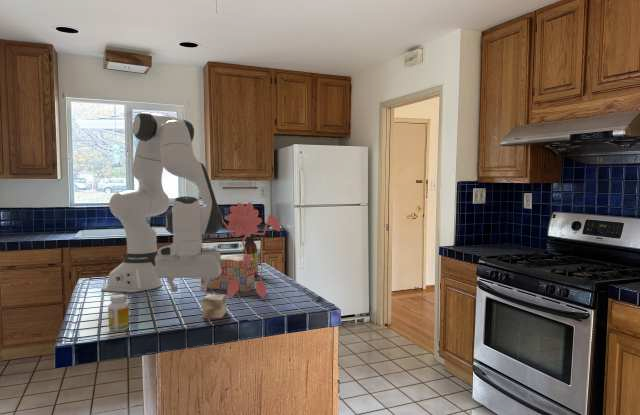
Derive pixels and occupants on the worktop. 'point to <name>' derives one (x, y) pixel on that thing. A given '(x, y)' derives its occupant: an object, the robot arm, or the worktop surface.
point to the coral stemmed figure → (247, 224)
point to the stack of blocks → (242, 275)
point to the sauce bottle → (251, 251)
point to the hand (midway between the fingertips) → (189, 291)
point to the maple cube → (213, 306)
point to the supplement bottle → (118, 313)
